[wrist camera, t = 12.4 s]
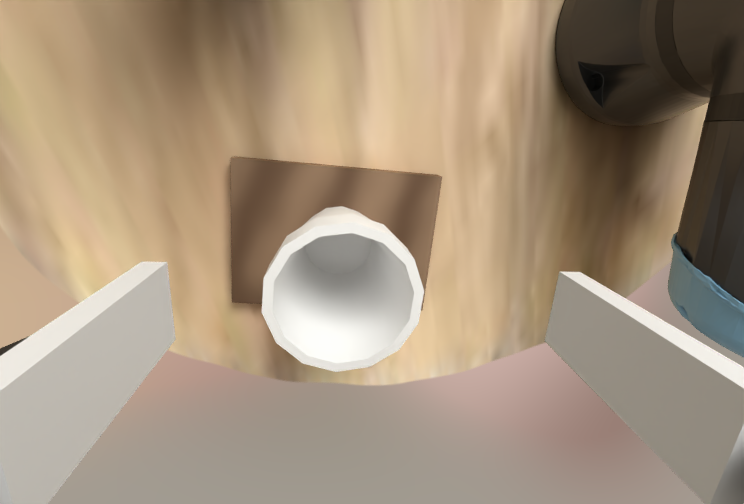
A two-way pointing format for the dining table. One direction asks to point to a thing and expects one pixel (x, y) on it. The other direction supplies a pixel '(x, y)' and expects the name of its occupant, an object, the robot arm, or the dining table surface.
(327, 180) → the walnut board
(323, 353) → the foam cup
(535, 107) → the dining table surface
